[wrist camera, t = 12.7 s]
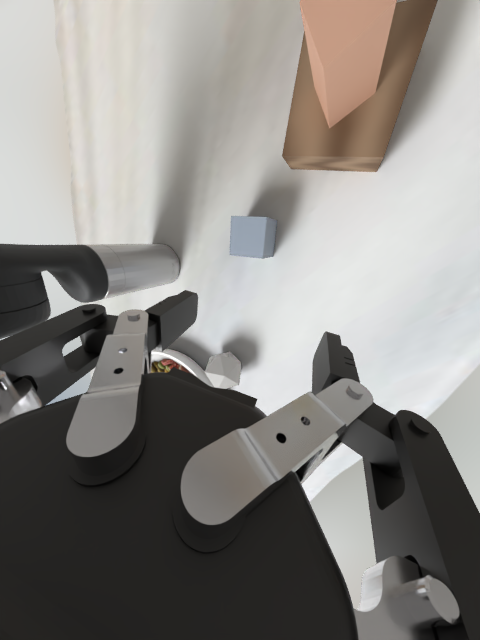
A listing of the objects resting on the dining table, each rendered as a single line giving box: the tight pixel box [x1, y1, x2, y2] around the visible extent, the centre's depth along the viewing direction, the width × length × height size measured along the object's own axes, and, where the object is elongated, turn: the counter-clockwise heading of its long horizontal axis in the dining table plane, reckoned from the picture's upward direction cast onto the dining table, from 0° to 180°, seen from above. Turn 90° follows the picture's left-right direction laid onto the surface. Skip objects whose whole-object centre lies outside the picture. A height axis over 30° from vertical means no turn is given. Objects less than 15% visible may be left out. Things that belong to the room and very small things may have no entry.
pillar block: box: [300, 0, 397, 128], centre depth 19 cm, size 5×5×10 cm
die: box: [205, 352, 241, 389], centre depth 47 cm, size 8×9×10 cm
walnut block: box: [282, 0, 438, 172], centre depth 25 cm, size 12×12×6 cm
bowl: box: [151, 349, 214, 387], centre depth 59 cm, size 30×30×8 cm
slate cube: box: [230, 216, 277, 258], centre depth 35 cm, size 6×6×6 cm
